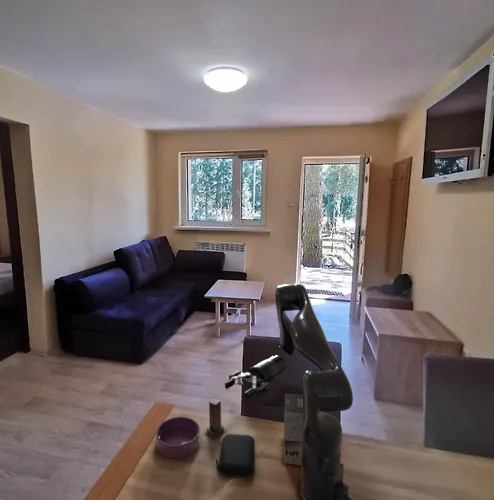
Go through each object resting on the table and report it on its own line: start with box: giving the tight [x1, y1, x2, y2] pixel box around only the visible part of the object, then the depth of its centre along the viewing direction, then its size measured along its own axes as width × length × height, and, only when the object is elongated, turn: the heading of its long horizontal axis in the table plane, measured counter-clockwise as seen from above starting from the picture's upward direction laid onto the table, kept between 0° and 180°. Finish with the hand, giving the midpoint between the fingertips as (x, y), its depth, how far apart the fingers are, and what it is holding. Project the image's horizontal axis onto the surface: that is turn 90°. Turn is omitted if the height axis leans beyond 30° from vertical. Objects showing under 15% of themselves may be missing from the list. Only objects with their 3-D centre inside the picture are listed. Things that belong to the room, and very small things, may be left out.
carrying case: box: [215, 433, 255, 478], centre depth 96 cm, size 11×3×15 cm
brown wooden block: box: [206, 397, 225, 438], centre depth 106 cm, size 4×3×11 cm
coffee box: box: [283, 393, 303, 466], centre depth 97 cm, size 9×6×16 cm
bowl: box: [155, 416, 201, 459], centre depth 102 cm, size 13×13×4 cm
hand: (234, 391), depth 112 cm, fingers open, 8 cm apart
